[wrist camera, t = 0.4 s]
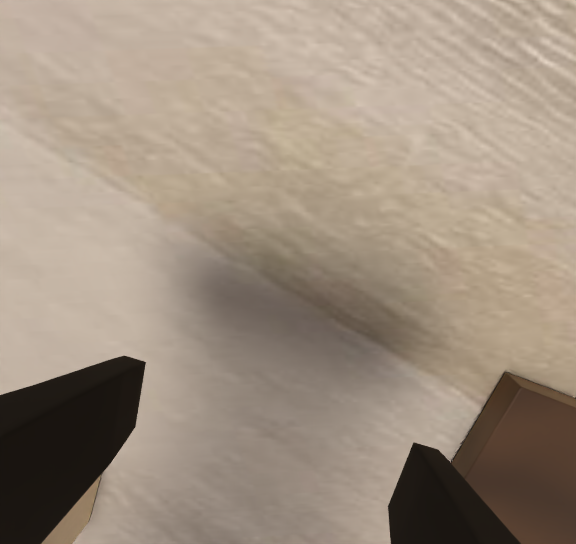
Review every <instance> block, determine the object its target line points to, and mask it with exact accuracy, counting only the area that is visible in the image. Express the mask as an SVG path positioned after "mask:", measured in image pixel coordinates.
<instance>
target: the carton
mask: <svg viewBox="0 0 576 544" xmlns="http://www.w3.org/2000/svg"><path fill="white" fill-rule="evenodd" d="M100 477H101V475H100V476H99V477H98V478H97V480H96V481H95V482H94V483H93V484H92V486H91V487H90V488H89V489H88V490H87V491H86V493H85V494H84V495H83V496H82V497H81V498H80V500H79V501H78V502H77V503H76V504H75V505H74V506H73V508H72V509H71V510H70V511H69V512H68V513H67V515H66V516H65V517H64V518H63V519H62V520H61V521H60V523H59V524H58V525H57V526H56V527H55V528H54V530H53V531H52V532H51V533H50V534H49V535H48V536H47V538H46V539H45V540H44V541H43V542H42V543H41V544H72V543H73V542H74V540H75V539H76V538H77V536H78V535H79V534H80V532H81V531H82V530H83V528H84V527H85V526H86V524H87V523H88V522H89V519H90V515H91V511H92V508H93V504H94V500H95V496H96V492H97V489H98V485H99V481H100Z"/></svg>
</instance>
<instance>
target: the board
mask: <svg viewBox="0 0 576 544" xmlns="http://www.w3.org/2000/svg"><path fill="white" fill-rule="evenodd" d="M452 465H453V466H454V467H455V468H456V470H457V471H458V472H459V473H460V474H461V475H462V476H463V478H464V479H465V480H466V481H467V482H468V483H469V485H470V486H471V487H472V488H473V489H474V490H475V491H476V493H477V494H478V495H479V496H480V497H481V498H482V500H483V501H484V502H485V503H486V504H487V505H488V506H489V508H490V509H491V510H492V511H493V512H494V513H495V515H496V516H497V517H498V518H499V519H500V520H501V521H502V523H503V524H504V525H505V526H506V527H507V528H508V529H509V530H510V532H511V533H512V534H513V535H514V536H515V537H516V538H517V539H518V541H519V542H520V543H521V544H576V399H575V398H572V397H569V396H567V395H564V394H562V393H559V392H556V391H554V390H551V389H549V388H546V387H543V386H541V385H538V384H536V383H533V382H530V381H528V380H525V379H522V378H520V377H517V376H515V375H512V374H509V373H505V374H504V376H503V377H502V379H501V381H500V382H499V384H498V386H497V387H496V389H495V391H494V393H493V394H492V396H491V398H490V399H489V401H488V403H487V404H486V406H485V408H484V409H483V411H482V413H481V415H480V416H479V418H478V420H477V421H476V423H475V425H474V426H473V428H472V430H471V431H470V433H469V435H468V437H467V438H466V440H465V442H464V443H463V445H462V447H461V448H460V450H459V452H458V453H457V455H456V457H455V458H454V460H453V462H452Z"/></svg>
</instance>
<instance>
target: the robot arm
mask: <svg viewBox="0 0 576 544" xmlns="http://www.w3.org/2000/svg"><path fill="white" fill-rule="evenodd" d="M145 364H146V362H144V361H140V360H137V359H134V358H130V357H127V356H122V357H118V358H114V359H111V360H108V361H105V362H102V363H99V364H96V365H93V366H90V367H87V368H84V369H81V370H78V371H75V372H72V373H69V374H66V375H63V376H60V377H57V378H54V379H51V380H48V381H45V382H42V383H39V384H36V385H33V386H29V387H26V388H23V389H19V390H16V391H13V392H9V393H6V394H3V395H0V544H41V543H42V542H43V541H44V540H45V539H46V538H47V536H48V535H49V534H50V533H51V532H52V531H53V530H54V528H55V527H56V526H57V525H58V524H59V523H60V521H61V520H62V519H63V518H64V517H65V516H66V515H67V513H68V512H69V511H70V510H71V509H72V508H73V506H74V505H75V504H76V503H77V502H78V501H79V500H80V498H81V497H82V496H83V495H84V494H85V493H86V491H87V490H88V489H89V488H90V487H91V486H92V484H93V483H94V482H95V481H96V480H97V478H98V477H99V476H100V475H101V474H102V473H103V471H104V470H105V469H106V468H107V467H108V465H109V464H110V463H111V462H112V460H113V459H114V457H115V456H116V455H117V453H118V452H119V450H120V449H121V447H122V446H123V444H124V443H125V441H126V440H127V438H128V437H129V435H130V434H131V432H132V431H133V429H134V428H135V426H136V419H137V413H138V407H139V401H140V395H141V388H142V382H143V376H144V370H145ZM388 511H389V525H390V537H391V544H521V543H520V542H519V541H518V539H517V538H516V537H515V536H514V535H513V534H512V533H511V532H510V530H509V529H508V528H507V527H506V526H505V525H504V524H503V523H502V521H501V520H500V519H499V518H498V517H497V516H496V515H495V513H494V512H493V511H492V510H491V509H490V508H489V506H488V505H487V504H486V503H485V502H484V501H483V500H482V498H481V497H480V496H479V495H478V494H477V493H476V491H475V490H474V489H473V488H472V487H471V486H470V485H469V483H468V482H467V481H466V480H465V479H464V478H463V476H462V475H461V474H460V473H459V472H458V471H457V470H456V468H455V467H454V466H453V465H452V464H451V463H450V462H449V461H448V460H447V459H446V457H445V456H444V455H443V454H442V453H441V452H440V451H439V450H437V449H434V448H431V447H427V446H424V445H421V444H417V443H413V445H412V448H411V450H410V453H409V455H408V458H407V460H406V463H405V465H404V468H403V470H402V473H401V475H400V478H399V480H398V483H397V485H396V488H395V490H394V493H393V495H392V498H391V500H390V503H389V505H388Z"/></svg>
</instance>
